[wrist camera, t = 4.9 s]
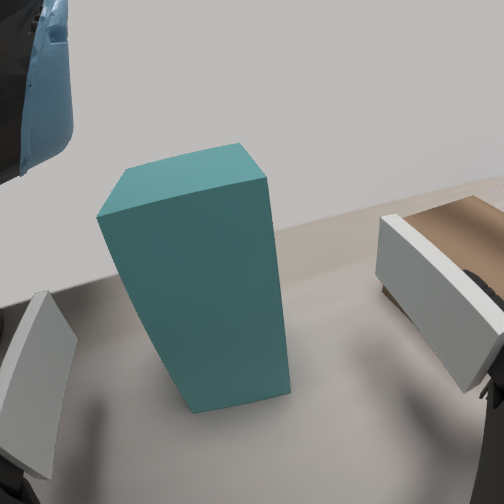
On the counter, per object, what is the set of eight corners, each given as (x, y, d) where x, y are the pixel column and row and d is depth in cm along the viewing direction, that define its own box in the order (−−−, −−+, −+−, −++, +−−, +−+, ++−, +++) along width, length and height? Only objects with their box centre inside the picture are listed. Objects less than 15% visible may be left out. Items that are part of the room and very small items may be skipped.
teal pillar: (193, 413, 13) (96, 217, 8) (187, 343, 17) (126, 169, 11) (290, 392, 13) (266, 177, 8) (268, 325, 17) (239, 142, 12)
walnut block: (466, 384, 11) (506, 311, 9) (381, 294, 18) (390, 221, 15) (536, 318, 13) (565, 252, 10) (460, 256, 19) (472, 195, 17)
